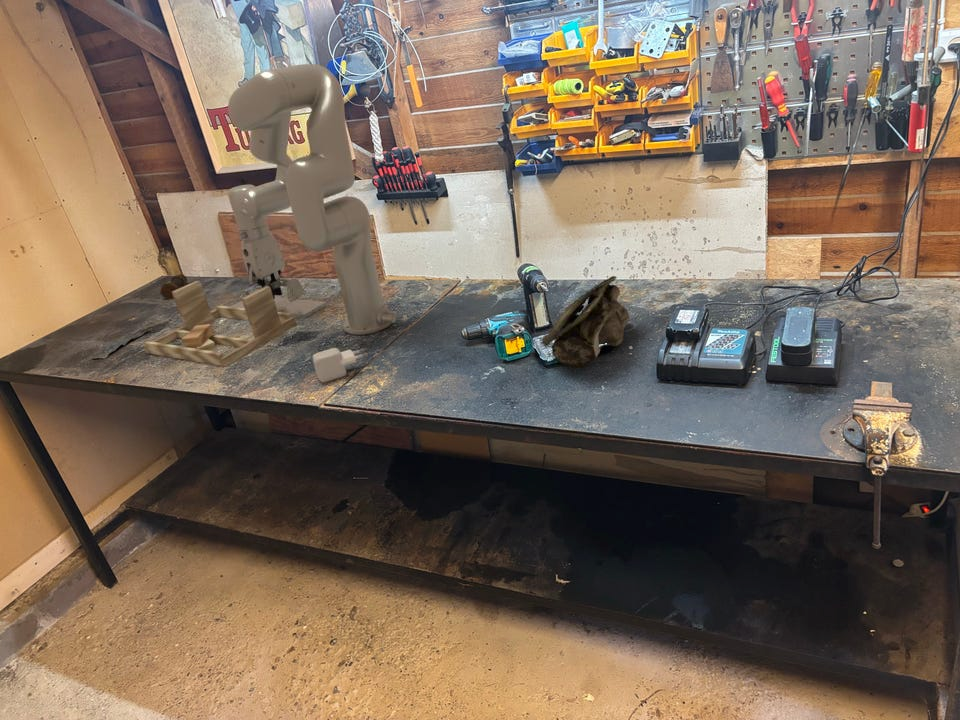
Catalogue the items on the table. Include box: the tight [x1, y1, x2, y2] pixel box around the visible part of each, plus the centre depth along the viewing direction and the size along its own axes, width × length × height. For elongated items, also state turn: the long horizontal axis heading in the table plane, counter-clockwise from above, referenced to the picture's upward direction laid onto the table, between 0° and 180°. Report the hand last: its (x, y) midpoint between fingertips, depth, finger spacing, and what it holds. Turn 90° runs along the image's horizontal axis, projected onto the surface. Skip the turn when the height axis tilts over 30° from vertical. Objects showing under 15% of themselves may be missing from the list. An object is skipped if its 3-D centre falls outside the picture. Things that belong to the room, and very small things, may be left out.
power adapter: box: [312, 347, 369, 383], centre depth 136 cm, size 11×5×6 cm, turn 114°
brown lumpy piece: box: [159, 273, 188, 300], centre depth 207 cm, size 6×5×15 cm
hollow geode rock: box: [541, 275, 630, 369], centre depth 128 cm, size 28×13×15 cm
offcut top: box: [181, 323, 215, 348], centre depth 158 cm, size 8×4×2 cm, turn 178°
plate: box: [230, 296, 327, 319], centre depth 180 cm, size 29×9×1 cm, turn 61°
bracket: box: [244, 277, 306, 302], centre depth 178 cm, size 3×21×10 cm, turn 59°
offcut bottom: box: [192, 339, 219, 352], centre depth 159 cm, size 10×4×3 cm, turn 42°
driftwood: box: [92, 323, 153, 360], centre depth 172 cm, size 21×7×2 cm, turn 164°
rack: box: [143, 280, 298, 367], centre depth 162 cm, size 30×24×12 cm
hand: (273, 296), depth 178 cm, fingers closed on bracket, 2 cm apart
